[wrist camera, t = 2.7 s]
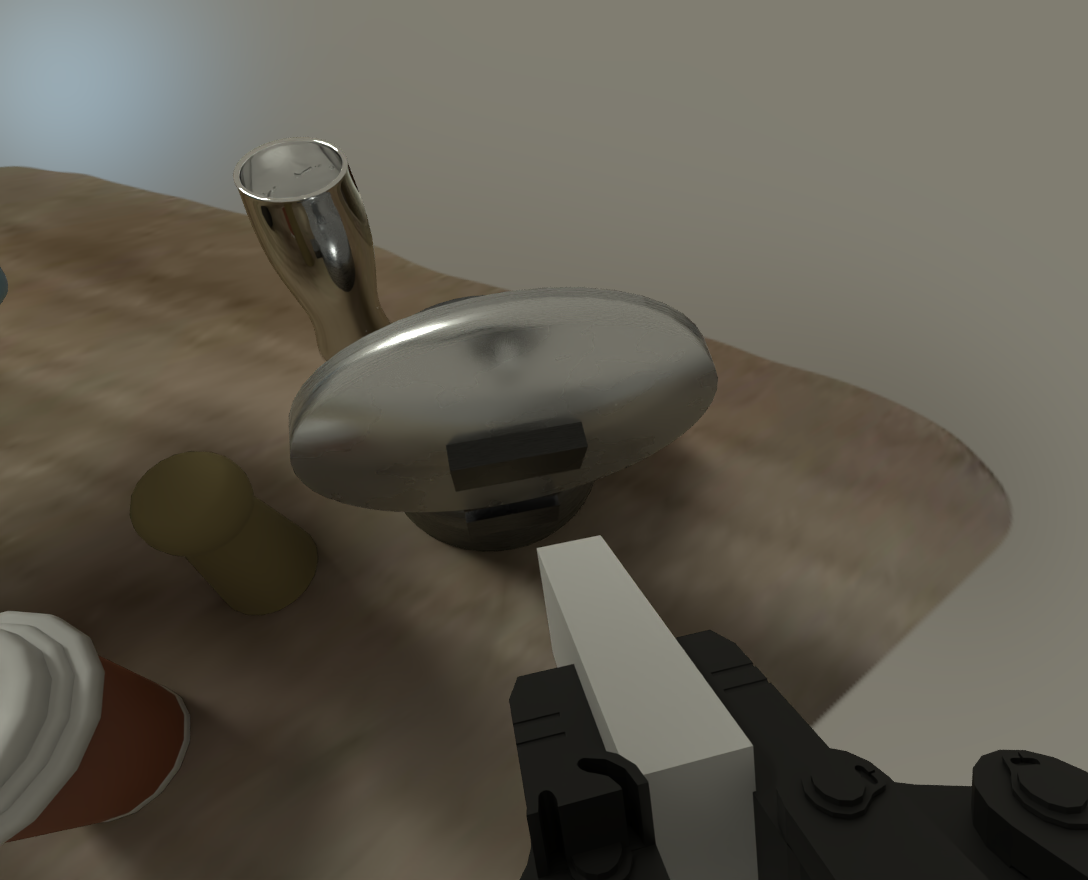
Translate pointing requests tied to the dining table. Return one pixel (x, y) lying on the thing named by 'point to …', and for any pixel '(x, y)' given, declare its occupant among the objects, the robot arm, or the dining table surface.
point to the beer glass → (315, 235)
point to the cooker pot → (502, 516)
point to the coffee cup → (78, 731)
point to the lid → (499, 400)
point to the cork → (223, 531)
